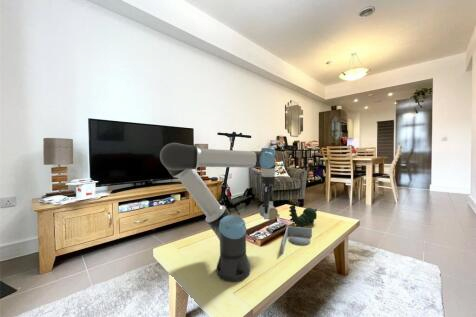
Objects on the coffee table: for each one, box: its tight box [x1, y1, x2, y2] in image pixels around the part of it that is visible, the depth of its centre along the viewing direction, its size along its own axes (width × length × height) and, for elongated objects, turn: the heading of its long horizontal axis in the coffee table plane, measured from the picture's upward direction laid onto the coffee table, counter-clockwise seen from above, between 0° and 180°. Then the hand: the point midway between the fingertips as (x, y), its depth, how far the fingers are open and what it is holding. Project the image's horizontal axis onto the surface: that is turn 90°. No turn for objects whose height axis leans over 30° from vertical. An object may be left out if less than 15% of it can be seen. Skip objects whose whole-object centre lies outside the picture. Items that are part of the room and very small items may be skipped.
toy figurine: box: [288, 201, 318, 228], centre depth 145 cm, size 9×19×25 cm
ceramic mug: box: [258, 203, 280, 221], centre depth 112 cm, size 11×8×8 cm
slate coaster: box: [288, 235, 311, 246], centre depth 120 cm, size 12×12×1 cm
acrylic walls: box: [281, 225, 313, 255], centre depth 115 cm, size 26×15×5 cm, turn 161°
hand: (268, 215), depth 112 cm, fingers closed on ceramic mug, 11 cm apart
